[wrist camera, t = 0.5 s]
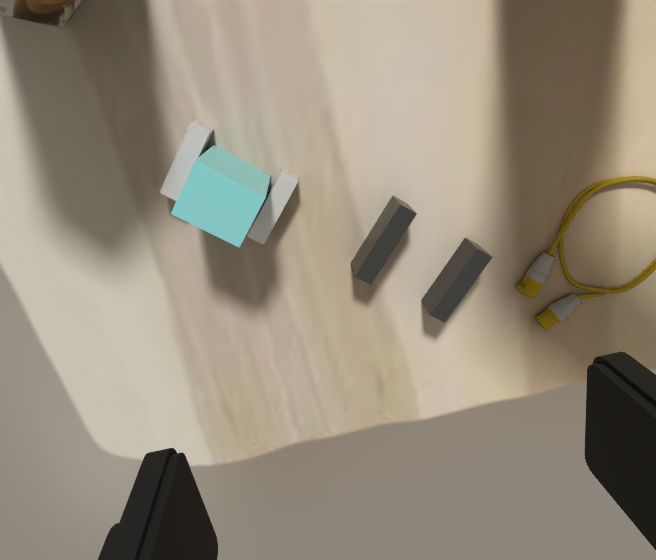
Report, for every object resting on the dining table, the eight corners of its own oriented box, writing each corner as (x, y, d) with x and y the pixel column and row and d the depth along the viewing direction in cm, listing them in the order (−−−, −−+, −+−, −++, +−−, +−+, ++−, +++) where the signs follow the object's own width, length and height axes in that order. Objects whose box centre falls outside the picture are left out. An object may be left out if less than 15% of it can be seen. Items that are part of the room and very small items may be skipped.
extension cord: (496, 218, 42) (505, 225, 40) (670, 151, 41) (688, 155, 39) (523, 329, 47) (533, 339, 45) (680, 271, 45) (696, 280, 44)
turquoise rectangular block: (214, 144, 37) (195, 160, 30) (270, 175, 39) (265, 197, 31) (193, 188, 39) (170, 213, 31) (248, 216, 40) (239, 247, 33)
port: (392, 195, 40) (400, 204, 37) (479, 245, 42) (492, 257, 40) (350, 263, 42) (354, 276, 39) (435, 307, 45) (444, 322, 42)
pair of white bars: (195, 119, 36) (190, 122, 35) (297, 176, 39) (298, 181, 37) (165, 187, 38) (159, 192, 37) (264, 237, 41) (263, 245, 39)
